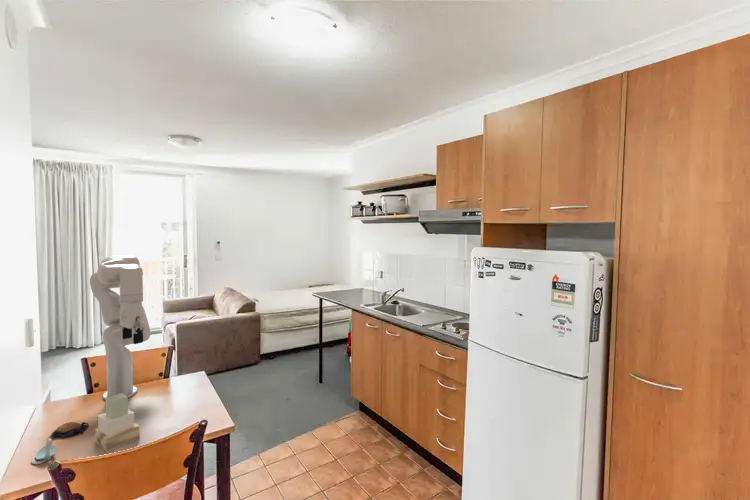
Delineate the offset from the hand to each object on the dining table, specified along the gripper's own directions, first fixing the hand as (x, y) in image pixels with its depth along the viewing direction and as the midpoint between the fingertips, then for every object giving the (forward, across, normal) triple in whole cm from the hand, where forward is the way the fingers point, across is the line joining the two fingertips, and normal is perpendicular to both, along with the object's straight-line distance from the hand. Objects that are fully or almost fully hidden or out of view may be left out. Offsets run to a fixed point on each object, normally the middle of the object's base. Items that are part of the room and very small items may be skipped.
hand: (132, 340), depth 143 cm
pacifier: (+31, +6, -29) cm, 43 cm away
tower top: (+26, +14, -11) cm, 31 cm away
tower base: (+31, +14, -11) cm, 35 cm away
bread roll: (+31, -6, -19) cm, 37 cm away
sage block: (+21, +14, -11) cm, 27 cm away
